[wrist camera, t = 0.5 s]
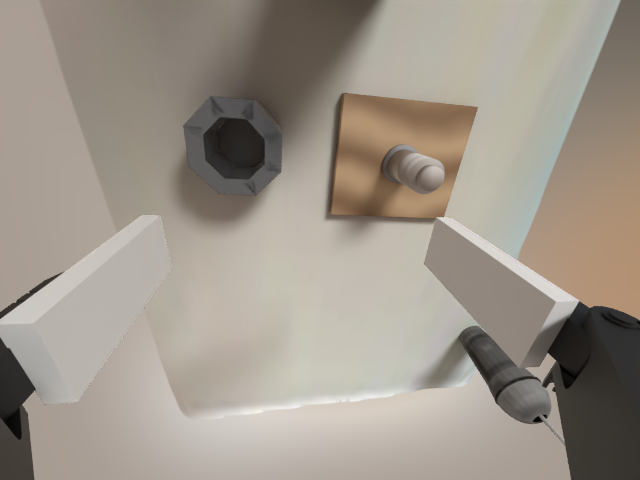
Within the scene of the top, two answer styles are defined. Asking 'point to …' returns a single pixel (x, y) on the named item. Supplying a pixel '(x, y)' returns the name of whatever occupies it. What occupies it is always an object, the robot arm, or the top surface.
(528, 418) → the beverage cup
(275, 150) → the ring
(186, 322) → the top surface
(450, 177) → the post block
